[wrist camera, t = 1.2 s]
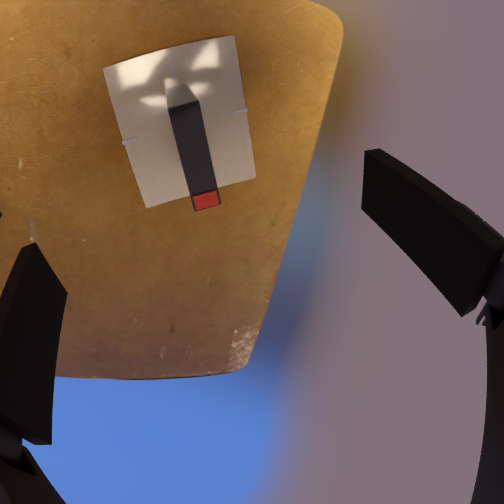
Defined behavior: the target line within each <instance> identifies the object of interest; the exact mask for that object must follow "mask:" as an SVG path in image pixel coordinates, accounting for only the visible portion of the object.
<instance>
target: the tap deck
mask: <svg viewBox="0 0 504 504" xmlns="http://www.w3.org/2000/svg"><path fill="white" fill-rule="evenodd" d="M103 73H104V76H105V80H106V84H107V88H108V91H109V95H110V99H111V102H112V106H113V109H114V112H115V116H116V119H117V123H118V126H119V129H120V132H121V136H122V139H123V141H122V144H123V145H125V148H126V151H127V154H128V157H129V160H130V163H131V166H132V169H133V172H134V175H135V178H136V181H137V184H138V186H139V189H140V192H141V195H142V198H143V200H144V203H145V206H146V208H150V207H153V206H156V205H159V204H163V203H166V202H169V201H173V200H176V199H179V198H183V197H186V196H190V193H189V190H188V186H187V182H186V179H185V175H184V171H183V168H182V164H181V160H180V156H179V153H178V149H177V145H176V141H175V137H174V133H173V129H172V125H171V121H170V117H169V113H168V109H167V100H166V91H165V89H168V88H172V87H176V86H179V85H183V84H187V85H188V87H189V88H190V89H191V91H192V92H193V93H194V95H195V96H196V97H197V99H198V100H199V102H200V107H201V112H202V117H203V122H204V126H205V131H206V136H207V140H208V145H209V150H210V154H211V159H212V164H213V168H214V173H215V177H216V182H217V186H218V188H219V187H222V186H226V185H230V184H234V183H238V182H242V181H245V180H249V179H253V178H256V172H255V165H254V158H253V151H252V145H251V138H250V131H249V125H248V118H247V112H248V108H246V105H245V99H244V92H243V86H242V80H241V73H240V67H239V61H238V55H237V49H236V42H235V36H234V35H230V36H223V37H217V38H212V39H206V40H201V41H196V42H191V43H187V44H182V45H178V46H174V47H170V48H166V49H162V50H158V51H155V52H151V53H148V54H144V55H141V56H138V57H134V58H131V59H128V60H125V61H122V62H119V63H116V64H113V65H110V66H108V67H105V68H103Z"/></svg>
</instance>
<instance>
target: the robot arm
mask: <svg viewBox="0 0 504 504" xmlns="http://www.w3.org/2000/svg"><path fill="white" fill-rule="evenodd" d="M361 209H362V210H363V211H364V212H365V213H366V214H367V215H368V216H369V217H370V218H371V219H372V220H373V221H374V222H375V223H376V224H377V225H378V226H379V227H380V228H381V229H382V230H383V231H384V232H385V233H386V234H388V236H390V238H392V240H393V241H394V242H395V243H396V244H397V245H398V246H399V247H400V248H401V249H402V250H403V251H404V252H405V253H406V254H407V255H408V256H409V257H410V259H412V261H413V262H414V263H415V264H416V265H417V266H418V267H419V268H420V269H421V270H422V272H423V273H424V274H425V275H426V276H427V277H428V278H429V279H430V280H431V282H432V283H433V284H434V285H435V286H436V287H437V289H438V290H439V291H440V292H441V293H442V294H443V295H444V297H445V298H446V299H447V300H448V301H449V303H450V304H451V305H452V306H453V307H454V308H455V310H456V311H457V312H458V313H459V315H460V316H461V317H463V316H464V315H466V314H468V313H469V312H471V311H472V310H474V309H475V308H476V307H477V305H478V303H479V301H480V299H481V298H482V296H484V297H485V299H486V300H487V302H486V303H485V305H484V307H483V309H482V310H481V312H480V314H479V316H478V317H477V319H476V324H479V322H480V321H481V319H482V318H483V316H485V320H484V321H483V323H482V325H483V326H486V341H487V398H486V415H485V425H484V434H483V443H482V450H481V456H480V462H479V468H478V473H477V478H476V483H475V487H474V492H473V496H472V500H471V503H470V504H504V237H503V236H502V235H500V234H499V233H498V232H497V231H496V230H495V229H494V228H492V227H491V226H490V225H489V224H488V223H487V222H485V221H483V219H482V218H480V217H479V216H478V215H477V214H476V215H475V212H473V211H472V210H471V209H469V208H468V207H467V206H466V205H464V204H462V203H460V202H458V201H456V200H454V199H453V198H452V197H451V196H449V195H448V194H447V193H445V192H444V191H443V190H441V189H440V188H439V187H437V186H436V185H434V184H433V183H431V182H430V181H429V180H427V179H426V178H424V177H423V176H422V175H420V174H419V173H417V172H416V171H414V170H413V169H411V168H410V167H408V166H407V165H405V164H404V163H402V162H400V161H399V160H397V159H396V158H394V157H393V156H391V155H389V154H388V153H386V152H385V151H383V150H381V149H373V150H367V151H365V154H364V175H363V191H362V205H361ZM67 294H68V293H67V291H66V290H65V288H64V287H63V285H62V284H61V282H60V281H59V279H58V278H57V276H56V275H55V273H54V272H53V270H52V268H51V267H50V265H49V264H48V262H47V260H46V259H45V257H44V256H43V254H42V252H41V251H40V249H39V247H38V245H37V244H36V242H35V243H32V244H30V245H27V246H25V247H23V248H21V250H20V252H19V254H18V257H17V259H16V261H15V263H14V265H13V268H12V270H11V272H10V275H9V277H8V279H7V282H6V284H5V287H4V289H3V292H2V295H1V297H0V504H66V503H65V502H64V500H63V499H62V498H61V496H60V495H59V494H58V493H57V491H56V490H55V488H54V487H53V486H52V485H51V483H50V482H49V480H48V479H47V477H46V476H45V475H44V473H43V472H42V470H41V469H40V467H39V465H38V464H37V462H36V461H35V459H34V458H33V456H32V455H31V453H30V452H29V450H28V449H27V448H26V447H24V446H23V445H22V438H23V439H25V440H27V441H29V442H30V443H32V444H34V445H51V444H52V408H53V392H54V379H55V369H56V360H57V352H58V345H59V338H60V332H61V325H62V320H63V314H64V309H65V304H66V299H67Z"/></svg>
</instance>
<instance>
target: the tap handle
mask: <svg viewBox="0 0 504 504" xmlns="http://www.w3.org/2000/svg"><path fill="white" fill-rule="evenodd" d="M165 91H166V100H167V109H168V113H169V117H170V121H171V125H172V129H173V133H174V137H175V141H176V145H177V149H178V153H179V156H180V160H181V164H182V168H183V171H184V175H185V179H186V182H187V186H188V190H189V193H190V197H191V200H192V204H193V208H194V211H198V210H202V209H206V208H209V207H213V206H216V205H220V204H221V200H220V195H219V191H218V186H217V182H216V177H215V173H214V168H213V164H212V159H211V154H210V150H209V145H208V140H207V136H206V131H205V126H204V122H203V117H202V112H201V107H200V102H199V100H198V99H197V97H196V96H195V95H194V93H193V92H192V91H191V89H190V88H189V87H188V85H187V84H183V85H179V86H176V87H172V88H168V89H165Z"/></svg>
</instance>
